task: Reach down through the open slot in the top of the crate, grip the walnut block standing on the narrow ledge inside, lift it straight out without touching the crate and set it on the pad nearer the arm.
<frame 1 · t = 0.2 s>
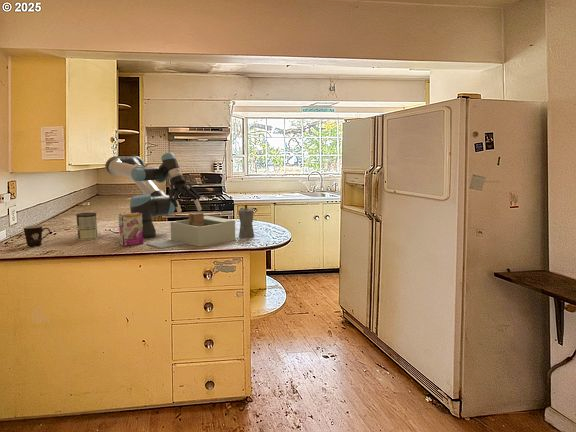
hand: (190, 211, 263), 16 cm above the countertop, tool tilted 35°, fingers open, 13 cm apart
coffee can: (88, 239, 268), on the countertop
pad: (165, 244, 252), on the countertop
candy bar box: (132, 245, 252), on the countertop
coffeepot: (245, 236, 274), on the countertop
walnut block: (196, 231, 260), point 5 cm above the countertop, touching crate
crate: (203, 239, 264), on the countertop
coffee mug: (37, 246, 251), on the countertop
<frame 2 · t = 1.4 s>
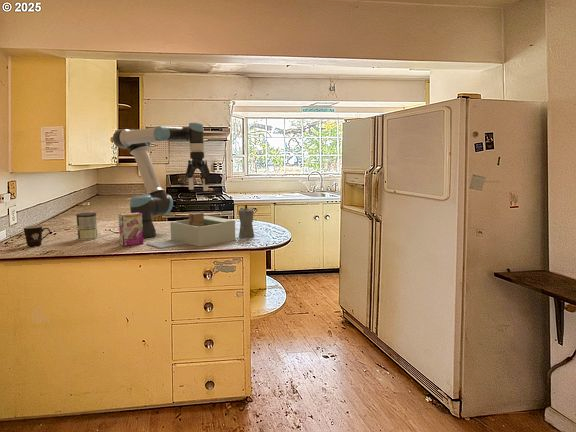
hand: (198, 190, 266), 27 cm above the countertop, tool pointing down, fingers open, 13 cm apart
nothing on the countertop moved.
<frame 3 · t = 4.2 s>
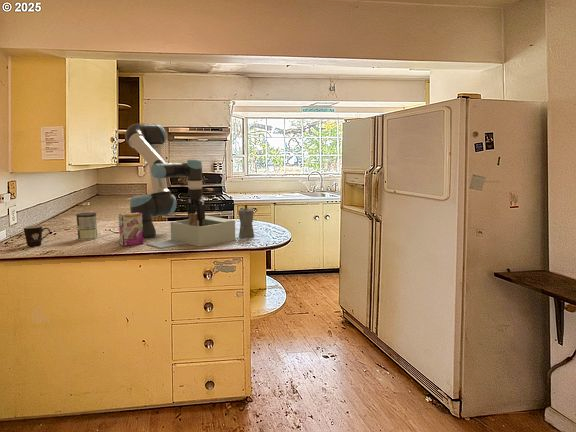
hand: (196, 231, 260), 5 cm above the countertop, tool pointing down, fingers closed on walnut block, 5 cm apart
walnut block: (196, 231, 260), point 5 cm above the countertop, touching crate, gripper
everything else where it was.
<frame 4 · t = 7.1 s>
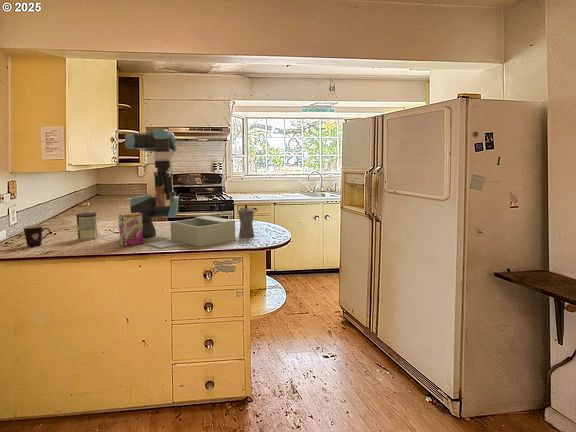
hand: (164, 205, 249), 21 cm above the countertop, tool pointing down, fingers closed on walnut block, 5 cm apart
walnut block: (164, 205, 249), point 20 cm above the countertop, touching gripper
everything else where it was.
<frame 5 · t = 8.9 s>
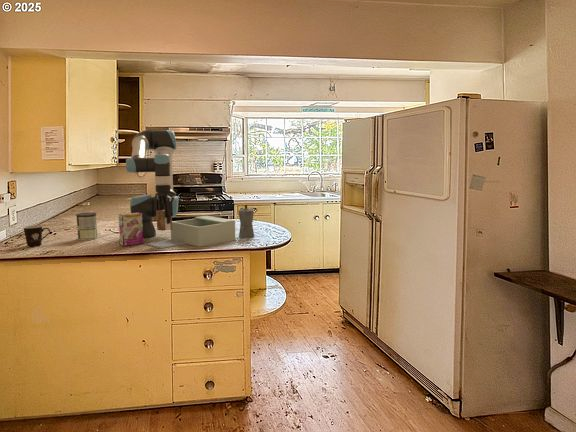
hand: (164, 229, 250), 8 cm above the countertop, tool pointing down, fingers closed on walnut block, 5 cm apart
walnut block: (164, 229, 250), point 8 cm above the countertop, touching gripper
everything else where it was.
when the fingers open (2 cm above the countertop, at t = 10.2 s): walnut block drops 1 cm, resting on pad.
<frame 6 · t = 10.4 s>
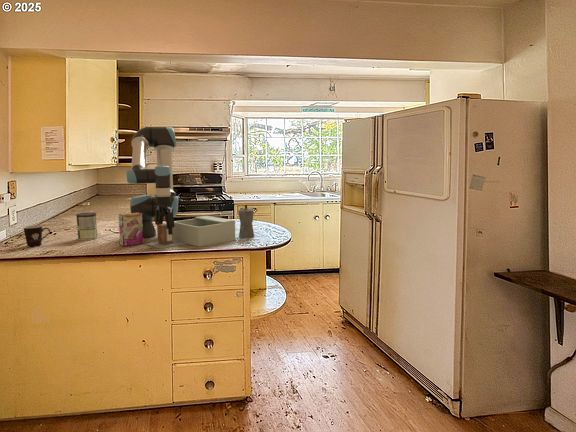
hand: (165, 239, 251), 3 cm above the countertop, tool pointing down, fingers open, 7 cm apart
walnut block: (165, 243, 251), point 1 cm above the countertop, touching pad
everything else where it was.
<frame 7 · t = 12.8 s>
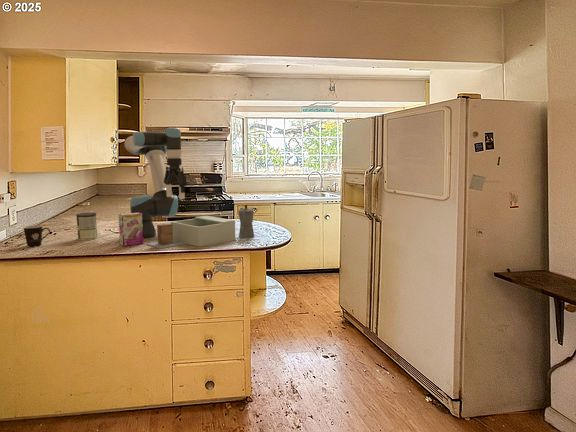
hand: (175, 197, 257), 24 cm above the countertop, tool pointing down, fingers open, 13 cm apart
nothing on the countertop moved.
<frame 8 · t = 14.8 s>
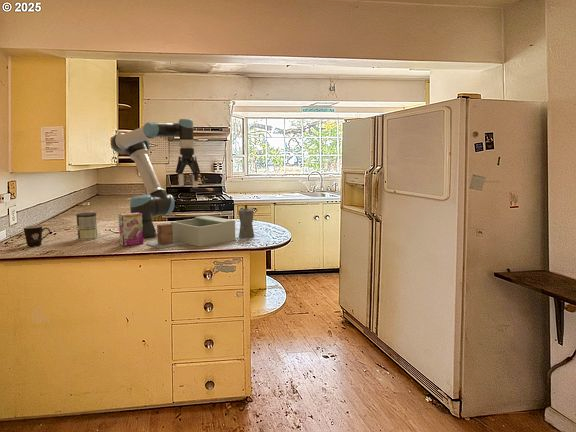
hand: (188, 186, 266), 29 cm above the countertop, tool pointing down, fingers open, 13 cm apart
nothing on the countertop moved.
at the end: walnut block inside the target area on the pad (0.0 cm from its centre), point 0.6 cm above the pad's base; walnut block tilted 0°; walnut block touching pad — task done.
